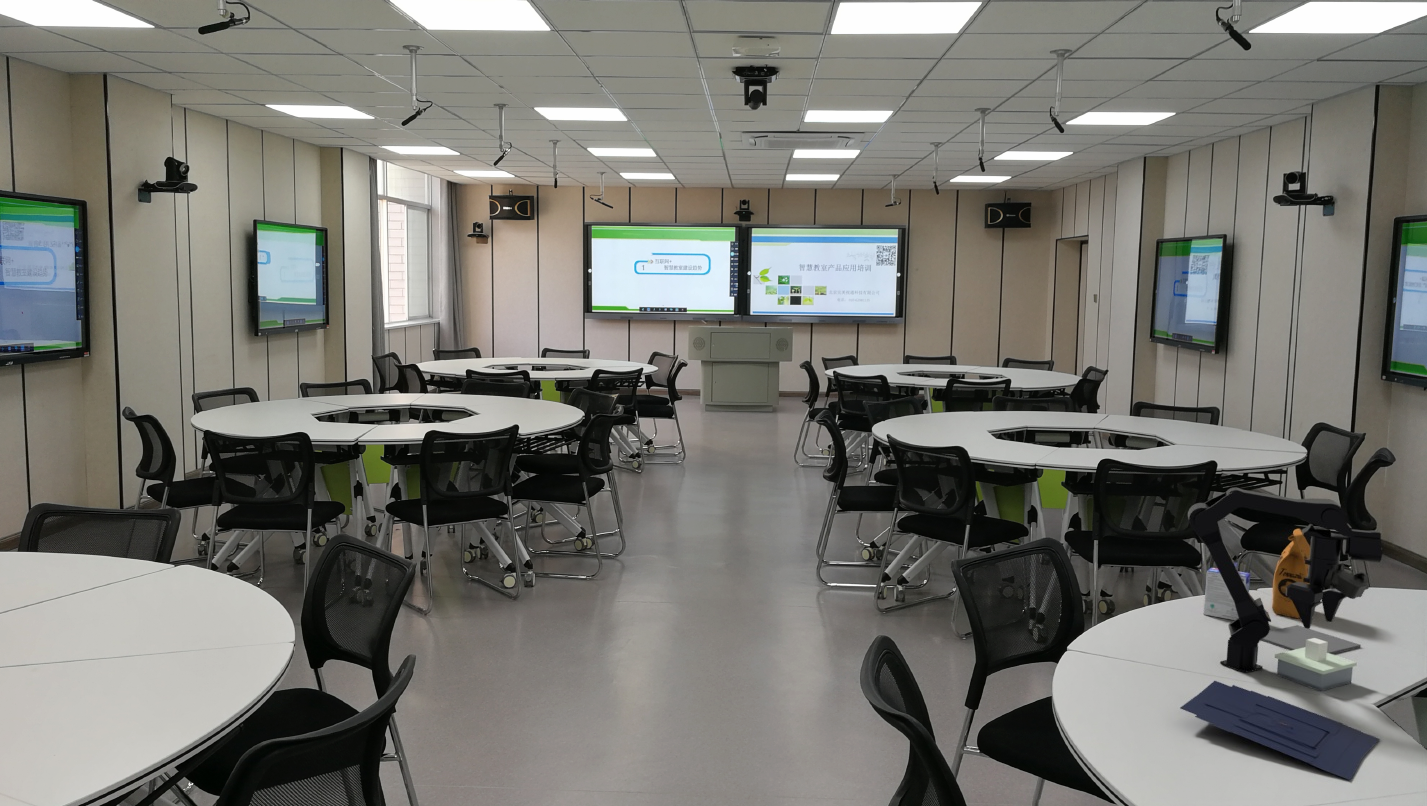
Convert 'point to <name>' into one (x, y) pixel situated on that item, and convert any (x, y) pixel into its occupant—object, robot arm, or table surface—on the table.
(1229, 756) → the table surface
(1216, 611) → the ink cartridge box
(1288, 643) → the rubber mat
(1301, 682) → the storage box
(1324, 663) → the lid
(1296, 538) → the coffee package
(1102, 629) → the table surface
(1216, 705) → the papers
